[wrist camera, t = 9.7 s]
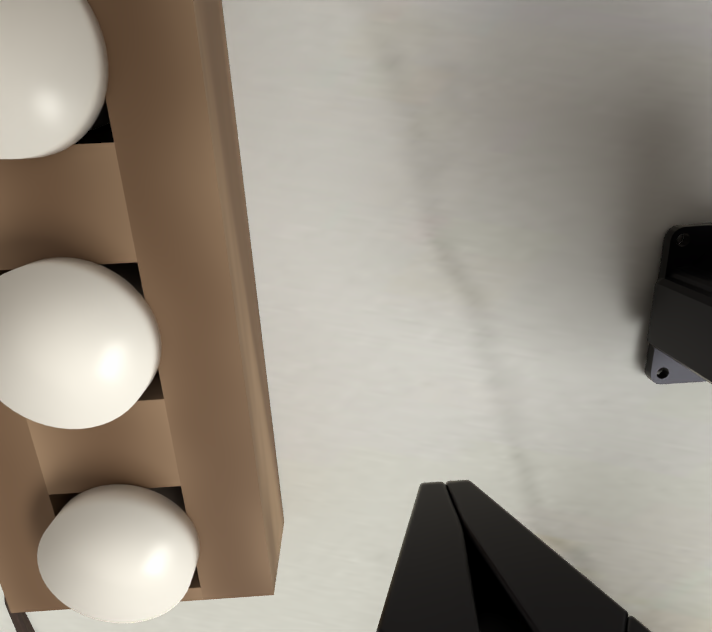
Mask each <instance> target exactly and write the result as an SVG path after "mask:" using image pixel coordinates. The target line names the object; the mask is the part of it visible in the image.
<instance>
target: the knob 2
mask: <svg viewBox="0 0 712 632" xmlns="http://www.w3.org/2000/svg"><path fill="white" fill-rule="evenodd" d="M199 552H200V544H199V538H198V534H197V531H196V529H195V527H194V525H193V523H192V521H191V520H190V518H189V517H188V516H187V514H186V509H185V504H184V499H183V494H182V489H181V486H173V487H158V488H143V487H138V486H134V485H124V484H111V485H103V486H99V487H95V488H91V489H89V490H86V491H84V492H82V493H80V494H78V495H76V496H75V497H74V498H72V499H71V500H70V501H69V502H68V503H67V504H66V505H65V506H64V507H63V508H62V509H61V511H60V512H59V513H58V515H57V516H56V517H55V519H54V520H53V521H52V523H51V524H50V525H49V527H48V528H47V529H46V531H45V532H44V534H43V536H42V538H41V540H40V543H39V546H38V552H37V561H38V567H39V571H40V574H41V576H42V579H43V581H44V582H45V584H46V586H47V587H48V588H49V590H50V591H51V592H52V593H53V594H54V595H55V596H56V597H57V598H58V599H59V600H60V601H61V602H62V603H64V604H65V605H66V606H68V607H69V608H71V609H73V610H74V611H76V612H78V613H80V614H82V615H85V616H87V617H90V618H93V619H97V620H100V621H105V622H111V623H135V622H142V621H146V620H150V619H153V618H156V617H158V616H160V615H162V614H164V613H166V612H168V611H169V610H171V609H172V608H173V607H174V606H176V605H177V604H178V603H179V602H180V601H181V599H182V598H183V597H184V595H185V594H186V592H187V591H188V588H189V586H190V583H191V580H192V577H193V574H194V571H195V568H196V565H197V562H198V558H199Z"/></svg>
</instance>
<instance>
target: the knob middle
mask: <svg viewBox="0 0 712 632" xmlns="http://www.w3.org/2000/svg"><path fill="white" fill-rule="evenodd" d="M160 358H161V336H160V331H159V327H158V324H157V321H156V319H155V316H154V314H153V312H152V310H151V309H150V307H149V305H148V303H147V302H146V301H145V298H144V293H143V288H142V283H141V278H140V273H139V268H138V264H137V263H135V262H131V263H114V264H96V263H93V262H90V261H86V260H82V259H77V258H69V257H55V258H47V259H42V260H38V261H35V262H32V263H29V264H27V265H24V266H22V267H19V268H16V269H14V270H11V271H9V272H7V273H4V274H2V275H1V276H0V401H1V402H2V403H3V404H5V405H6V406H7V407H9V408H10V409H12V410H13V411H15V412H16V413H18V414H20V415H22V416H23V417H25V418H28V419H30V420H32V421H34V422H37V423H40V424H43V425H47V426H51V427H56V428H64V429H84V428H91V427H96V426H100V425H103V424H105V423H108V422H111V421H113V420H114V419H116V418H118V417H120V416H121V415H123V414H124V413H125V412H126V411H128V410H129V409H130V408H131V407H132V406H133V405H134V404H135V403H136V401H137V400H138V399H139V398H140V396H141V395H142V394H143V392H144V391H145V390H146V389H147V387H148V386H149V385H150V383H151V382H152V380H153V378H154V376H155V374H156V372H157V370H158V367H159V364H160Z"/></svg>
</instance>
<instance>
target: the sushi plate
mask: <svg viewBox="0 0 712 632" xmlns="http://www.w3.org/2000/svg"><path fill="white" fill-rule="evenodd" d="M5 605H6V607H7V610H8V612H9V614H10V617H11V619H12V622H13V624H14V626H15V629H16V631H17V632H35V631H34V629H33V627H32V625H31V623H30V621H29V619H28V617H27V615H26V613H25V612H19V613H11V612H10V609H9V606H8V604H7V601H6V598H5Z"/></svg>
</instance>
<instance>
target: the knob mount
mask: <svg viewBox="0 0 712 632" xmlns="http://www.w3.org/2000/svg"><path fill="white" fill-rule="evenodd" d="M87 2H88V3H89V5H90V6H91V8H92V10H93V12H94V14H95V16H96V18H97V20H98V23H99V26H100V28H101V31H102V34H103V37H104V41H105V45H106V49H107V57H108V85H107V92H106V96H105V98H106V103H107V108H108V113H109V119H110V124H111V129H112V134H113V139H114V142H112V143H94V144H76V145H72V146H70V147H69V148H67V149H65V150H63V151H61V152H58V153H56V154H53V155H49V156H45V157H39V158H28V159H0V276H1V275H2V274H4V273H7V272H9V271H11V270H14V269H16V268H19V267H22V266H24V265H27V264H29V263H32V262H35V261H38V260H42V259H47V258H55V257H69V258H77V259H82V260H86V261H90V262H93V263H96V264H114V263H131V262H138V268H139V273H140V278H141V283H142V288H143V293H144V298H145V301H146V302H147V303H148V305H149V307H150V309H151V310H152V312H153V314H154V316H155V319H156V321H157V324H158V327H159V331H160V336H161V358H160V364H159V367H158V370H157V372H156V374H155V376H154V378H153V380H152V382H151V383H150V385H149V386H148V387H147V389H146V390H145V391H144V392H143V394H142V395H141V396H140V398H139V399H138V400H137V401H136V403H135V404H134V405H133V406H132V407H131V408H130V409H129V410H128V411H126V412H125V413H124V414H123V415H121V416H120V417H118V418H116V419H114V420H113V421H111V422H108V423H105V424H103V425H100V426H96V427H91V428H84V429H64V428H56V427H51V426H47V425H43V424H40V423H37V422H34V421H32V420H30V419H28V418H25V417H23V416H22V415H20V414H18V413H16V412H15V411H13V410H12V409H10V408H9V407H7V406H6V405H5V404H3V403H2V402H1V401H0V584H1V587H2V590H3V592H4V595H5V598H6V601H7V604H8V606H9V609H10V612H11V613H19V612H33V611H48V610H62V609H71V608H69V607H68V606H66V605H65V604H64V603H62V602H61V601H60V600H59V599H58V598H57V597H56V596H55V595H54V594H53V593H52V592H51V591H50V590H49V588H48V587H47V586H46V584H45V582H44V581H43V579H42V576H41V574H40V571H39V567H38V561H37V552H38V546H39V543H40V540H41V538H42V536H43V534H44V532H45V531H46V529H47V528H48V527H49V525H50V524H51V523H52V521H53V520H54V519H55V517H56V516H57V515H58V513H59V512H60V511H61V509H62V508H63V507H64V506H65V505H66V504H67V503H68V502H69V501H70V500H71V499H72V498H74V497H75V496H76V495H78V494H80V493H82V492H84V491H86V490H89V489H91V488H95V487H99V486H103V485H111V484H124V485H134V486H138V487H143V488H158V487H173V486H181V489H182V494H183V499H184V504H185V509H186V514H187V516H188V517H189V518H190V520H191V521H192V523H193V525H194V527H195V529H196V531H197V534H198V538H199V544H200V552H199V558H198V562H197V565H196V568H195V571H194V574H193V577H192V580H191V583H190V586H189V588H188V591H187V592H186V594H185V595H184V597H183V598H182V599H181V601H192V600H207V599H221V598H236V597H250V596H265V595H274V589H275V582H276V575H277V568H278V561H279V554H280V547H281V540H282V533H283V526H284V517H283V509H282V500H281V492H280V484H279V475H278V467H277V459H276V450H275V442H274V434H273V425H272V417H271V409H270V400H269V392H268V384H267V375H266V367H265V359H264V350H263V342H262V334H261V325H260V317H259V309H258V300H257V292H256V284H255V275H254V267H253V259H252V250H251V242H250V234H249V225H248V217H247V209H246V200H245V192H244V184H243V175H242V167H241V159H240V150H239V142H238V134H237V125H236V117H235V109H234V100H233V92H232V84H231V75H230V67H229V59H228V50H227V42H226V34H225V25H224V17H223V9H222V0H87Z"/></svg>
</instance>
